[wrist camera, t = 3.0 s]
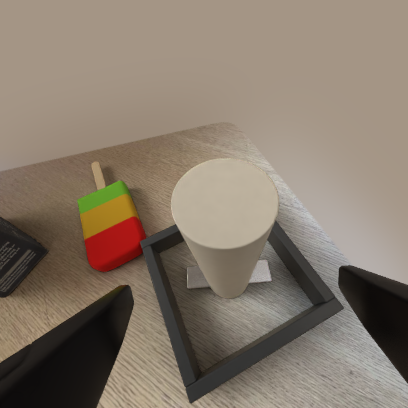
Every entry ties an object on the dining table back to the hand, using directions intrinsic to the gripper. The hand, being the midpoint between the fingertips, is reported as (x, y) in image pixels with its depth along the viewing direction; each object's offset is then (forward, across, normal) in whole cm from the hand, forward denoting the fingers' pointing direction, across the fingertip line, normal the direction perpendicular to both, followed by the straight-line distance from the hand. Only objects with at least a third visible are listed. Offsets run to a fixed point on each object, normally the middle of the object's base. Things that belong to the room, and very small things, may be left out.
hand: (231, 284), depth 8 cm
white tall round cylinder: (+8, 0, +5) cm, 10 cm away
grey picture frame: (+8, 0, +5) cm, 10 cm away
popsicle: (+15, +13, -1) cm, 19 cm away
